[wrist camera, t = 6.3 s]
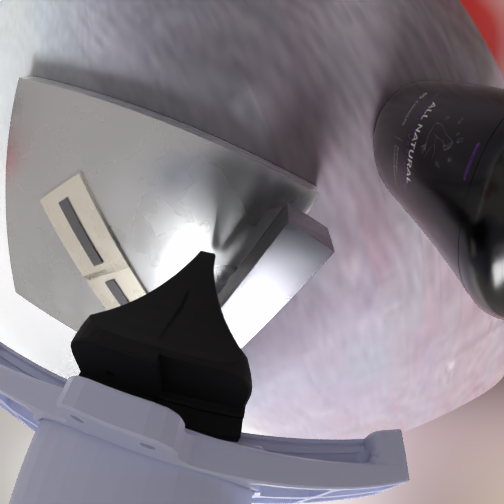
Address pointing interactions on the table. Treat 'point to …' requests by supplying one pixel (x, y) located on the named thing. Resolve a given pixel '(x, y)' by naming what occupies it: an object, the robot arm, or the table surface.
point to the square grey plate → (125, 199)
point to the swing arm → (274, 271)
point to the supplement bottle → (451, 176)
